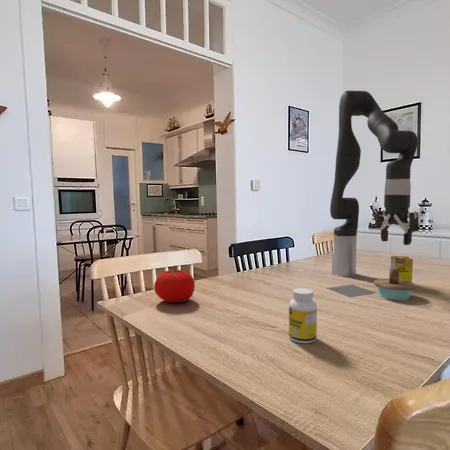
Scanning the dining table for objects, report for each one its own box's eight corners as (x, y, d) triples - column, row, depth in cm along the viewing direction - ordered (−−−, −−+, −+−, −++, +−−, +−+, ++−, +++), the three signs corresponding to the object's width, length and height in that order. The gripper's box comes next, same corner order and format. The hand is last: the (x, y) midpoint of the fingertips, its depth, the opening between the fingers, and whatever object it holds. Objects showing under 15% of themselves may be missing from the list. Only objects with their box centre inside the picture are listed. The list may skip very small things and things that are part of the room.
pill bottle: (285, 333, 82) (285, 287, 81) (311, 332, 82) (311, 286, 81) (293, 345, 75) (293, 295, 74) (320, 343, 76) (321, 294, 75)
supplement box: (412, 288, 120) (413, 258, 119) (394, 287, 121) (395, 258, 120) (406, 284, 126) (407, 256, 125) (389, 283, 127) (390, 255, 126)
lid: (366, 283, 113) (366, 267, 113) (392, 279, 118) (392, 264, 117) (395, 292, 102) (396, 274, 102) (423, 287, 106) (423, 271, 106)
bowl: (372, 295, 113) (373, 283, 112) (392, 292, 116) (392, 280, 116) (395, 302, 104) (395, 290, 104) (415, 299, 108) (416, 287, 107)
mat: (326, 289, 121) (326, 288, 120) (351, 285, 125) (351, 284, 125) (350, 298, 109) (350, 297, 109) (377, 293, 114) (377, 292, 114)
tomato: (201, 297, 112) (200, 267, 111) (185, 309, 101) (184, 275, 100) (166, 294, 117) (165, 264, 116) (147, 305, 105) (146, 272, 104)
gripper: (371, 193, 112) (369, 240, 114) (408, 193, 99) (406, 246, 101) (387, 193, 115) (385, 239, 117) (425, 193, 102) (423, 245, 104)
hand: (395, 242), depth 109 cm, fingers open, 8 cm apart
